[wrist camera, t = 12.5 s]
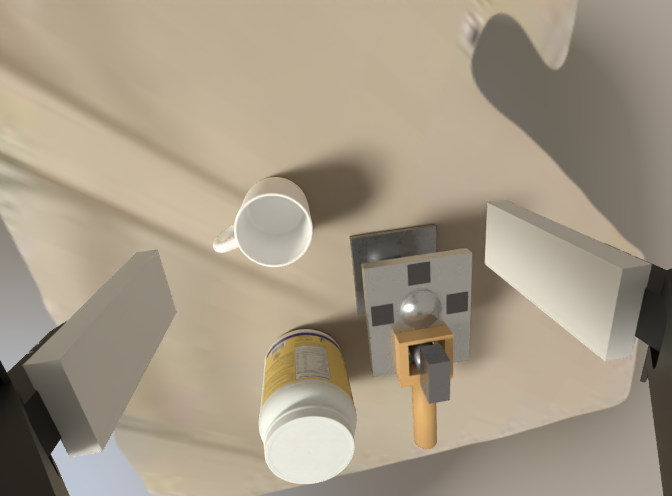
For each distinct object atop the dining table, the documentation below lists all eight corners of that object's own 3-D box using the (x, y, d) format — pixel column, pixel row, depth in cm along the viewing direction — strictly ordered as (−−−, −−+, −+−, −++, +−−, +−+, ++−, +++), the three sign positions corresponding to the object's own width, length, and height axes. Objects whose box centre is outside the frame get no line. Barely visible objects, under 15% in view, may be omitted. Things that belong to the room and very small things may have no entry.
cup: (317, 222, 51) (324, 249, 41) (236, 256, 51) (224, 291, 42) (292, 165, 48) (294, 180, 38) (206, 201, 48) (186, 225, 39)
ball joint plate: (348, 235, 52) (364, 270, 41) (434, 222, 53) (474, 254, 42) (357, 326, 57) (374, 379, 46) (436, 313, 58) (471, 362, 47)
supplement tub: (338, 390, 61) (355, 489, 46) (262, 390, 59) (253, 492, 44) (347, 326, 57) (370, 410, 42) (266, 323, 55) (258, 410, 40)
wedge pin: (388, 290, 54) (426, 365, 40) (408, 287, 55) (453, 360, 40) (389, 322, 57) (426, 404, 42) (409, 319, 57) (452, 399, 42)
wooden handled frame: (388, 320, 48) (399, 343, 43) (437, 312, 48) (453, 334, 43) (395, 423, 54) (405, 453, 49) (438, 415, 54) (452, 444, 50)
